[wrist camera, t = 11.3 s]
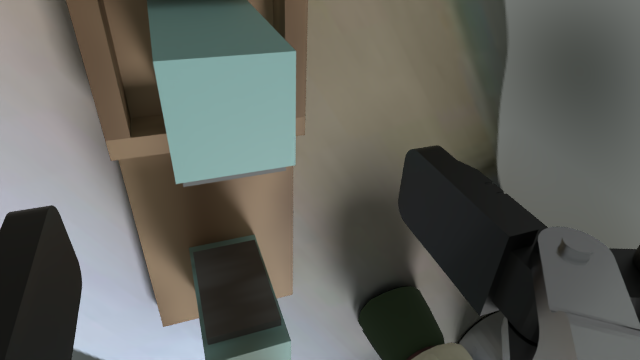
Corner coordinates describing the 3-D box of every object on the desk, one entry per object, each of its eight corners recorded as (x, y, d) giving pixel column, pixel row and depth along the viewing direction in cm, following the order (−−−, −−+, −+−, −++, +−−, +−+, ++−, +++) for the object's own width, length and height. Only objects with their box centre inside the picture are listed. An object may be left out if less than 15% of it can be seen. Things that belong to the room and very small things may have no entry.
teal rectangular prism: (146, -2, 17) (152, 61, 11) (242, -5, 19) (296, 51, 12) (164, 100, 20) (178, 196, 14) (248, 91, 21) (295, 177, 15)
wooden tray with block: (284, -72, 19) (377, -44, 12) (286, 279, 32) (331, 396, 25) (61, -77, 16) (1, -44, 9) (162, 309, 29) (171, 450, 22)
